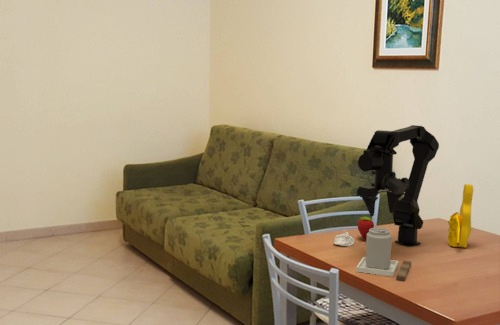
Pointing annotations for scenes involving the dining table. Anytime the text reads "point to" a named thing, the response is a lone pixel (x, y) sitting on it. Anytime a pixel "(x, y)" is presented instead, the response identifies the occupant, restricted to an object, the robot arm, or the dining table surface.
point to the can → (378, 248)
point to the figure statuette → (461, 221)
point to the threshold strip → (403, 270)
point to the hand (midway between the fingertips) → (381, 214)
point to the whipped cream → (344, 239)
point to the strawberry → (365, 226)
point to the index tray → (388, 272)
